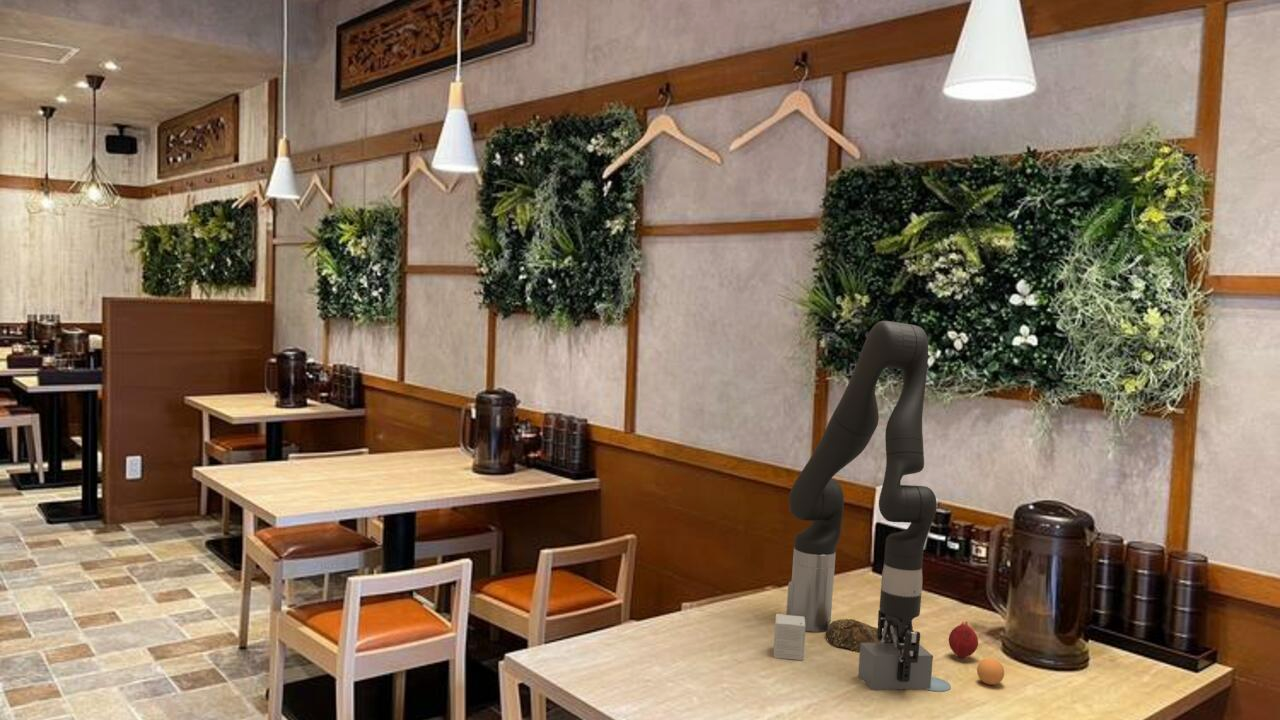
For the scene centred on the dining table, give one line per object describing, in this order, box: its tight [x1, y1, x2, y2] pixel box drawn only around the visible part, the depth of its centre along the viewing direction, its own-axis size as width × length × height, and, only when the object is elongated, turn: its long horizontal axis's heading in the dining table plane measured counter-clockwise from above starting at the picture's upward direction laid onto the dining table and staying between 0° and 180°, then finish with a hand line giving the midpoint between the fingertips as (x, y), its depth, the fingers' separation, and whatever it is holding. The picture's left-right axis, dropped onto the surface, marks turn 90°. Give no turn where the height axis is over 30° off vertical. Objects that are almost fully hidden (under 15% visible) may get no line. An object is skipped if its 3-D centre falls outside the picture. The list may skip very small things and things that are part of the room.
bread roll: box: [824, 618, 881, 653], centre depth 206 cm, size 13×12×5 cm
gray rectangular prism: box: [857, 643, 934, 691], centre depth 184 cm, size 12×7×7 cm, turn 99°
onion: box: [948, 619, 979, 659], centre depth 199 cm, size 6×6×8 cm
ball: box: [976, 657, 1005, 686], centre depth 187 cm, size 5×5×5 cm
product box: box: [773, 613, 806, 661], centre depth 196 cm, size 6×6×7 cm
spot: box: [926, 676, 952, 693], centre depth 185 cm, size 7×7×1 cm
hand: (894, 673), depth 184 cm, fingers open, 7 cm apart
